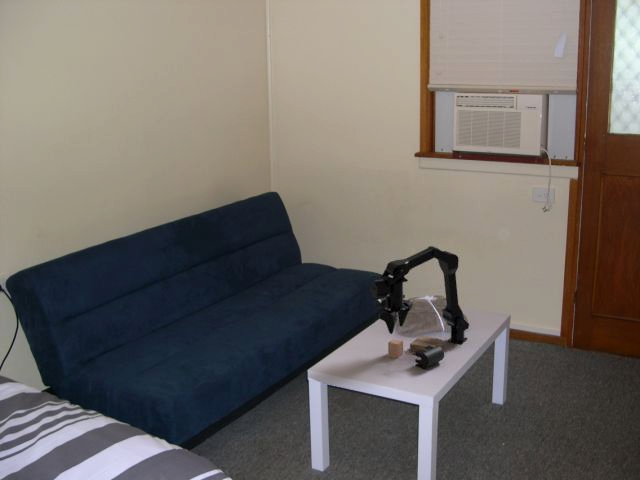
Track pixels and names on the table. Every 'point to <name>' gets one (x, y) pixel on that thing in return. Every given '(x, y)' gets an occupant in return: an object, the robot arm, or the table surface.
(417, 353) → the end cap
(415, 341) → the tan block
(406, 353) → the table surface
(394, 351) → the terracotta block
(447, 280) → the robot arm
